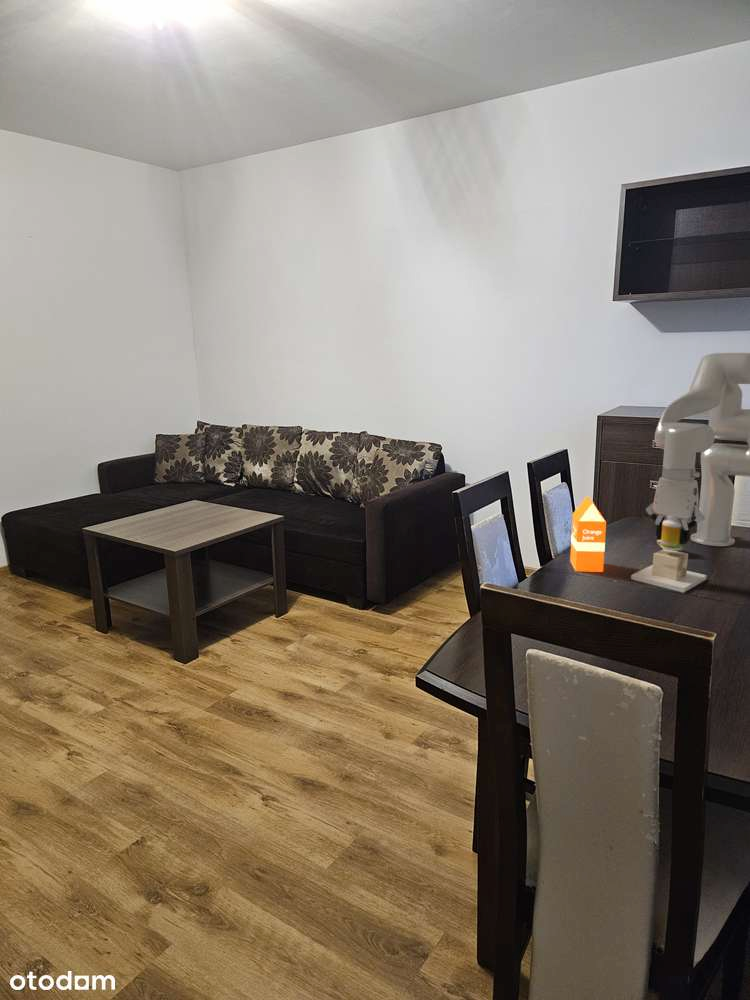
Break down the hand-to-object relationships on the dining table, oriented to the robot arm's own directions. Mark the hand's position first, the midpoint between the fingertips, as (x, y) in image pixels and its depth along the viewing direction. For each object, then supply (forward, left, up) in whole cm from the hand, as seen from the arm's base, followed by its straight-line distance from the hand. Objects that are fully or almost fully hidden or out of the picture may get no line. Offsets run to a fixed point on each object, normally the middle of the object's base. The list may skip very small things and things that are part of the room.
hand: (672, 540), depth 170 cm
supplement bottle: (0, 0, -2) cm, 2 cm away
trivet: (0, 0, -11) cm, 11 cm away
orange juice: (+6, -21, -11) cm, 25 cm away
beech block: (0, 0, -10) cm, 10 cm away
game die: (-23, -10, -11) cm, 27 cm away
